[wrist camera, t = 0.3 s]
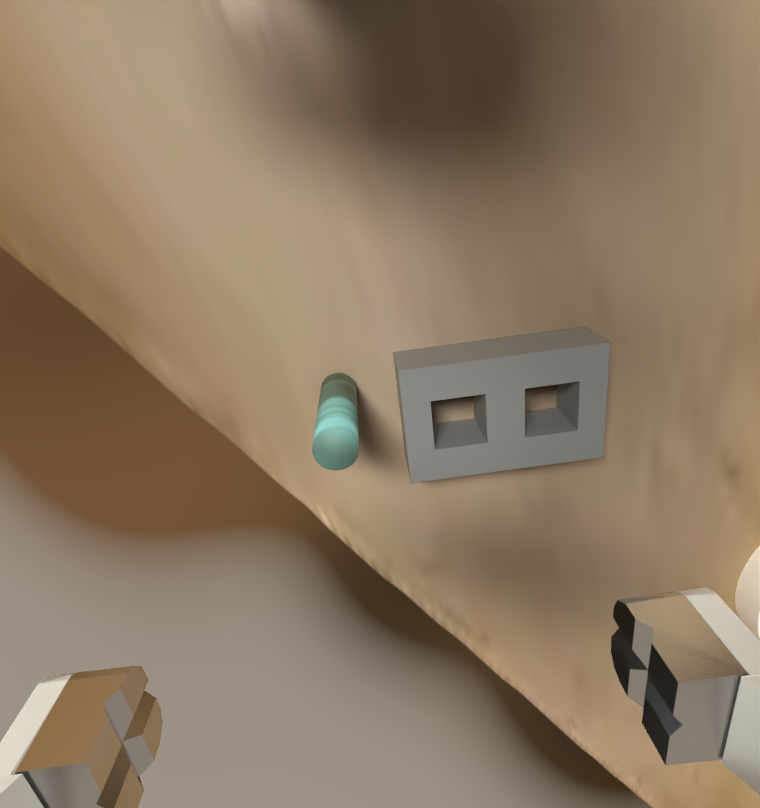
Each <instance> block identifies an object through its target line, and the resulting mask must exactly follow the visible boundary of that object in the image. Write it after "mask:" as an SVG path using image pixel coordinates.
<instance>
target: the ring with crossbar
mask: <svg viewBox="0 0 760 808" xmlns="http://www.w3.org/2000/svg"><path fill="white" fill-rule="evenodd" d="M735 605H736V611H737V614H738V617H739V619H740V620H741V621H742V622H743V623H744V624H745V625H746V626H747V628H748V629H749V630H750V631H751V632H752V633H753V634H754V635H755V636H756V637H757V638H758V639H759V641H760V546H759V547H758V548H757V549H756V551H755V552H754V553H753V555H752V556H751V557H750V559H749V560H748V562H747V563H746V565H745V567H744V569H743V571H742V573H741V575H740V578H739V581H738V584H737V588H736V594H735Z"/></svg>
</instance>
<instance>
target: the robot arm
mask: <svg viewBox="0 0 760 808" xmlns="http://www.w3.org/2000/svg"><path fill="white" fill-rule="evenodd" d="M613 618H614V620H615V622H616V623H617V625H618V627H619V628H618V630H617V631H616V632H615V633H614V634H613V635H612V636H611V655H612V659H613V664H614V669H615V671H616V674H617V676H618V679H619V681H620V683H621V685H622V687H623V689H624V691H625V693H626V695H627V696H628V697H629V698H630V699H632V700H633V701H635V702H636V703H637V704H639V705H640V706H642V707H643V717H642V724H643V726H644V728H645V729H646V731H647V733H648V735H649V737H650V738H651V740H652V742H653V744H654V746H655V747H656V749H657V751H658V753H659V755H660V756H661V758H662V760H663V762H664V764H665V765H674V764H683V763H693V762H703V761H712V760H722V764H724V765H725V766H726V767H727V768H728V769H730V770H731V771H732V772H733V773H735V774H736V775H737V776H738V777H739V778H741V779H742V780H743V781H744V782H745V783H747V784H748V785H749V786H750V787H751V788H753V789H754V790H755V791H756V792H758V793H759V794H760V641H759V639H758V638H757V637H756V636H755V635H754V634H753V633H752V632H751V631H750V630H749V629H748V628H747V626H746V625H745V624H744V623H743V622H742V621H741V620H740V619H739V618H738V617H737V616H736V614H735V613H734V612H733V611H732V610H731V609H730V608H729V607H728V606H727V605H726V604H725V603H724V601H723V600H722V599H721V598H720V597H719V596H718V595H717V594H716V593H715V592H714V591H712V590H710V589H709V588H700V589H692V590H685V591H678V592H675V593H674V592H669V593H662V594H656V595H649V596H642V597H635V598H629V599H622V600H617V602H616V603H615V605H614V610H613ZM147 682H148V678H147V676H146V675H145V672H144V670H143V668H142V666H131V667H122V668H112V669H102V670H93V671H84V672H77V673H69V674H61V675H52V676H48V677H46V678H45V679H44V680H42V681H41V682H40V683H39V684H38V685H37V686H36V688H35V689H34V691H33V693H32V694H31V696H30V697H29V699H28V700H27V702H26V703H25V705H24V707H23V708H22V710H21V711H20V713H19V714H18V716H17V717H16V719H15V721H14V722H13V724H12V725H11V727H10V729H9V730H8V732H7V733H6V735H5V736H4V738H3V739H2V741H1V742H0V808H138V805H139V802H140V799H141V796H142V794H143V791H144V789H143V786H142V783H141V780H140V775H141V774H142V773H143V772H144V771H145V770H146V768H147V767H148V766H149V765H150V764H151V763H152V762H153V761H154V759H155V756H156V753H157V749H158V747H159V743H160V737H161V729H162V716H161V709H160V706H159V703H158V701H157V698H155V697H153V696H152V695H151V694H149V693H147V692H146V691H144V690H145V687H146V685H147Z"/></svg>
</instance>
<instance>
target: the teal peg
mask: <svg viewBox="0 0 760 808" xmlns="http://www.w3.org/2000/svg"><path fill="white" fill-rule="evenodd" d="M312 451H313V456H314V458H315V460H316V461H317V463H318V464H320V465H321V466H322V467H324V468H326V469H329V470H342V469H345V468H348V467H349V466H351V465H352V464H353V463H354V462H355V461H356V459H357V457H358V454H359V435H358V406H357V386H356V383H355V381H354V380H353V379H352V378H351V377H350V376H348V375H346V374H343V373H335V374H331V375H329V376H328V377H327V378H326V379H325V380H324V381H323V383H322V386H321V392H320V399H319V406H318V413H317V420H316V427H315V434H314V441H313V448H312Z"/></svg>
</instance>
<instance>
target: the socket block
mask: <svg viewBox="0 0 760 808" xmlns="http://www.w3.org/2000/svg"><path fill="white" fill-rule="evenodd" d="M610 344H611V342H609V341H607V340H606V339H604V338H602V337H601V336H599V335H597V334H596V333H594V332H592V331H591V330H589V329H587V328H586V327H579V328H571V329H564V330H556V331H549V332H541V333H534V334H527V335H519V336H512V337H504V338H497V339H489V340H482V341H474V342H467V343H460V344H452V345H445V346H437V347H430V348H422V349H415V350H408V351H400V352H393V354H394V363H395V371H396V380H397V388H398V397H399V406H400V414H401V423H402V431H403V440H404V448H405V456H406V461H407V466H408V471H409V476H410V481H411V483H417V482H424V481H431V480H439V479H446V478H454V477H461V476H469V475H476V474H483V473H491V472H498V471H506V470H513V469H520V468H528V467H535V466H543V465H550V464H558V463H565V462H572V461H580V460H587V459H595V458H602V457H603V453H604V438H605V422H606V406H607V391H608V375H609V359H610ZM556 384H557V408H550V409H543V410H535V411H528V412H525V389H527V388H534V387H542V386H549V385H556ZM467 396H474V415H475V419H468V420H461V421H453V422H446V423H439V424H433V423H432V412H431V401H438V400H445V399H452V398H460V397H467Z"/></svg>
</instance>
